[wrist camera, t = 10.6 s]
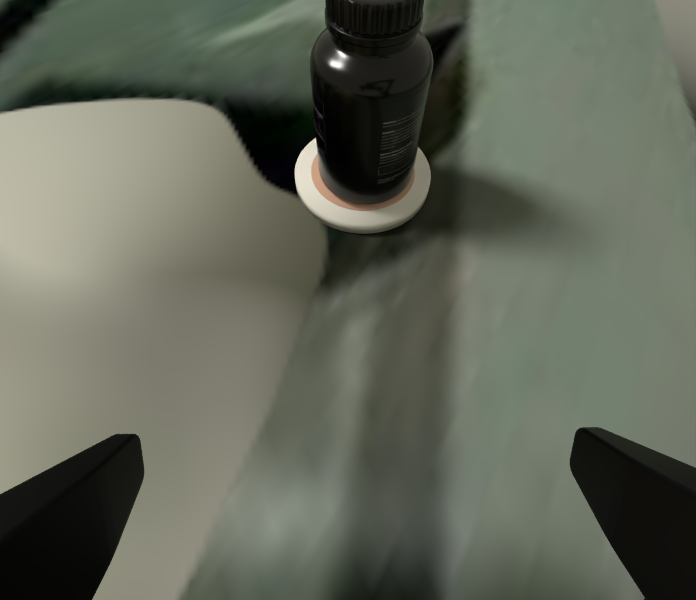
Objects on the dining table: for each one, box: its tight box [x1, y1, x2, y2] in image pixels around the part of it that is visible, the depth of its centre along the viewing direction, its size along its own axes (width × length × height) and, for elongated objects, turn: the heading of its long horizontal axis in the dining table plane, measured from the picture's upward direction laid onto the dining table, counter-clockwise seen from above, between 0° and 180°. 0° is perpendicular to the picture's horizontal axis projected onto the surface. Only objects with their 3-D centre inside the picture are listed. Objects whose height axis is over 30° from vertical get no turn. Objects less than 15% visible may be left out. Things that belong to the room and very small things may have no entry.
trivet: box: [295, 138, 431, 234], centre depth 30 cm, size 10×10×1 cm
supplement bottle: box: [310, 0, 433, 205], centre depth 24 cm, size 7×7×12 cm
